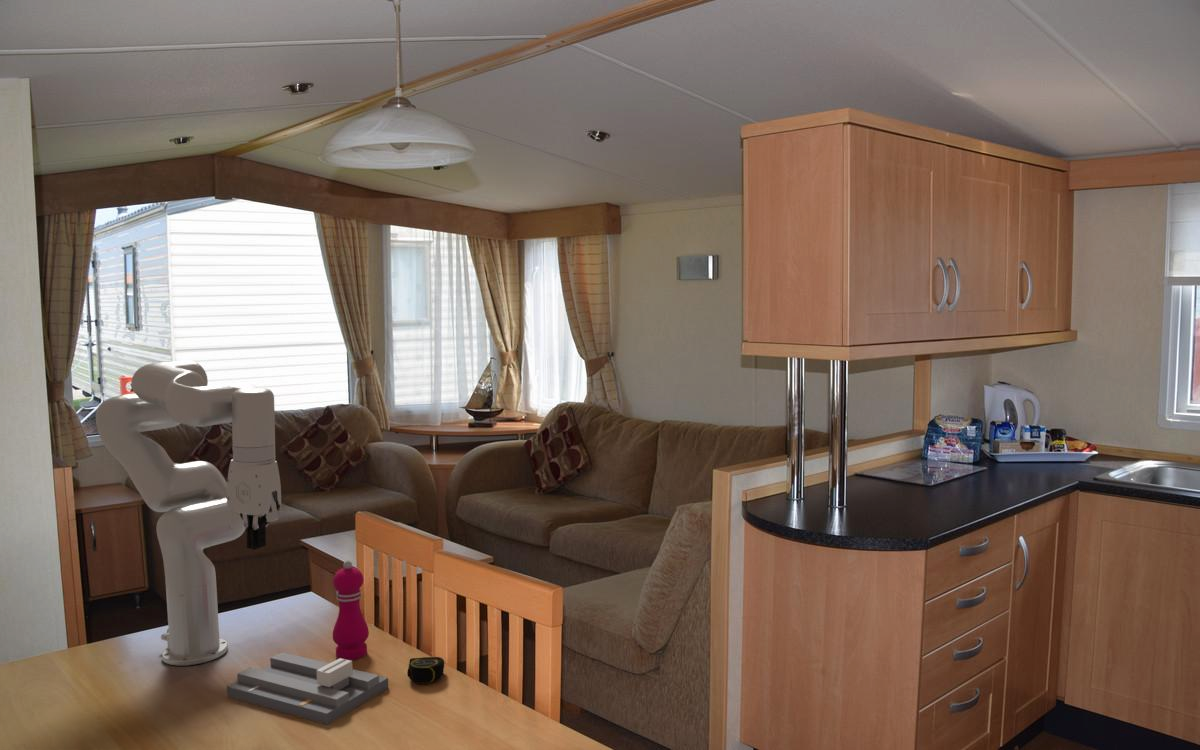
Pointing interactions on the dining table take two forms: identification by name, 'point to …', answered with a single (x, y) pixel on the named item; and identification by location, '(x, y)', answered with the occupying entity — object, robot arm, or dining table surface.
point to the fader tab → (335, 674)
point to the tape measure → (425, 669)
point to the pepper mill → (349, 614)
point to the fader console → (303, 689)
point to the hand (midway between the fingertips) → (256, 547)
